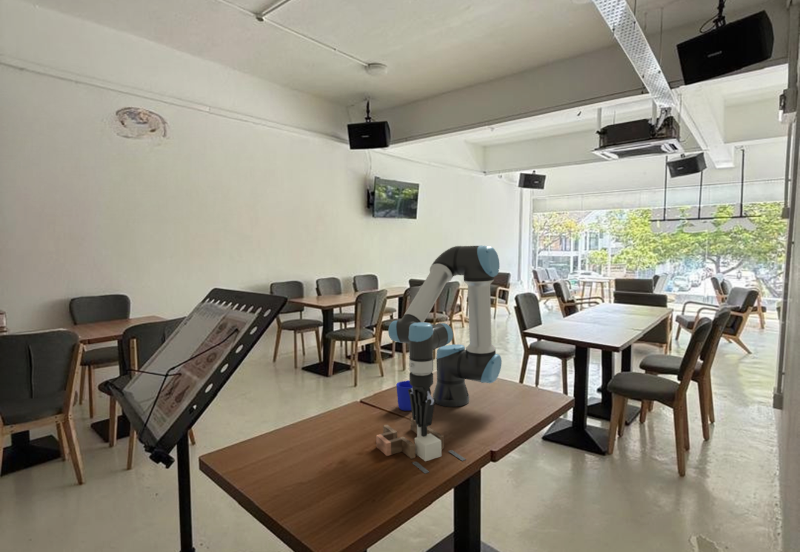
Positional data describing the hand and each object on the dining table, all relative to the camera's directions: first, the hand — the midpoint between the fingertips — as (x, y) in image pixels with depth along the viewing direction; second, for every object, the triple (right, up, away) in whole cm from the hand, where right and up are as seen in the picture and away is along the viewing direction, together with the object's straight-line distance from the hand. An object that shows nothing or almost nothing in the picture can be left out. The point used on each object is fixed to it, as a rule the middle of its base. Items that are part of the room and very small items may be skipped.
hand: (422, 444), depth 138 cm
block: (+2, -2, -3) cm, 4 cm away
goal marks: (+5, -2, -8) cm, 9 cm away
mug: (-4, +1, +37) cm, 37 cm away
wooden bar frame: (-5, -2, +4) cm, 7 cm away
